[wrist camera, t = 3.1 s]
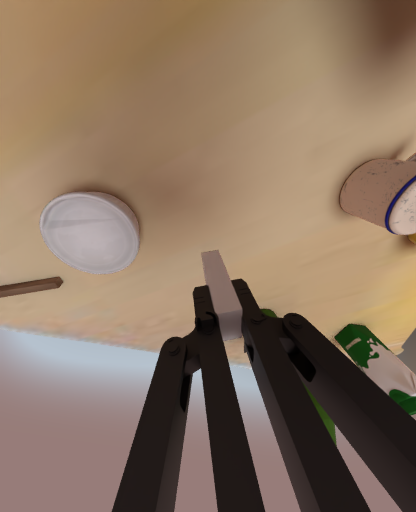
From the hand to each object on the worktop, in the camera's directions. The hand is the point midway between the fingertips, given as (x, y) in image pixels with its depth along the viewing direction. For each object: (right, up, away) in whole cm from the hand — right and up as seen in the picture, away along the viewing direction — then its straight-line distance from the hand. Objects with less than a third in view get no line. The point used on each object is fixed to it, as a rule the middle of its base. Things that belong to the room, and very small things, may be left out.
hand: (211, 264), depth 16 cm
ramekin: (-16, +6, +11) cm, 20 cm away
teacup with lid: (+27, +13, +13) cm, 33 cm away
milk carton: (+45, -23, +40) cm, 65 cm away
